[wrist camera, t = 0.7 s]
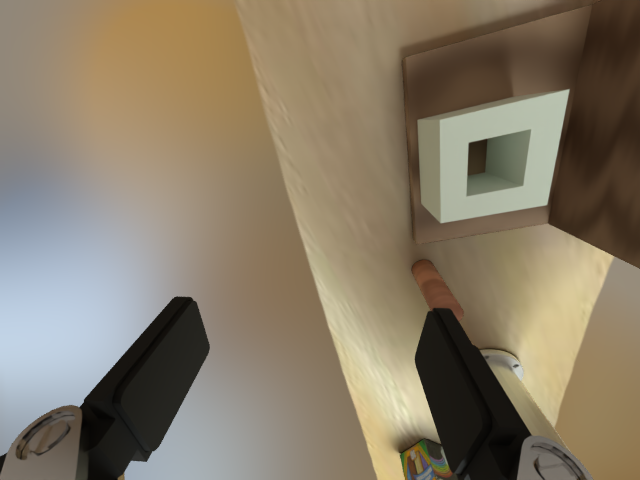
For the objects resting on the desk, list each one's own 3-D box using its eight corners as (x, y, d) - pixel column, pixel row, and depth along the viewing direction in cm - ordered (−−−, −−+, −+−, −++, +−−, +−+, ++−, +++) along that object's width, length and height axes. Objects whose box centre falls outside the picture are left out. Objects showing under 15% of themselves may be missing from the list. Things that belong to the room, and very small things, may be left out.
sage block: (505, 187, 27) (547, 205, 21) (421, 203, 28) (440, 223, 23) (515, 96, 23) (569, 89, 17) (417, 119, 24) (439, 119, 19)
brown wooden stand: (566, 214, 29) (689, 265, 19) (413, 239, 32) (449, 295, 22) (616, 0, 21) (890, -117, 10) (402, 60, 23) (451, 14, 13)
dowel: (433, 275, 34) (463, 323, 26) (412, 278, 35) (434, 326, 27) (433, 258, 33) (464, 302, 25) (411, 261, 34) (434, 306, 26)
